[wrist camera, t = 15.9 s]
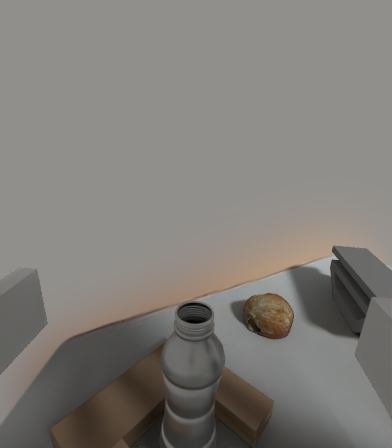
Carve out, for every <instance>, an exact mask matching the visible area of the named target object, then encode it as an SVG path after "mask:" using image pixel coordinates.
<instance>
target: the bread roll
mask: <svg viewBox="0 0 392 448" xmlns="http://www.w3.org/2000/svg"><path fill="white" fill-rule="evenodd" d="M293 319H294V313H293V310H292V308H291V307H290V305H289V304H288V302H287V301H286V300H285V299H283V298H282V297H281V296H279V295H277V294H271V293H267V294H265V295H254V296H251V297H250V298H249V299H248V300H247V301H246V303H245V306H244V320H245V322H246V324H247V328H248V329H249V330H251V331H253V332H256V333H258V334H259V335H262V336H265V337H268V338H271V339H281V338H283V337H286V336H287V335H288V334H289V332H290V328H291V326H292V323H293Z"/></svg>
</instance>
